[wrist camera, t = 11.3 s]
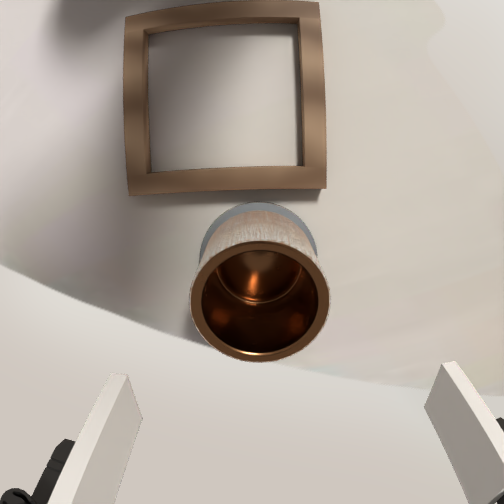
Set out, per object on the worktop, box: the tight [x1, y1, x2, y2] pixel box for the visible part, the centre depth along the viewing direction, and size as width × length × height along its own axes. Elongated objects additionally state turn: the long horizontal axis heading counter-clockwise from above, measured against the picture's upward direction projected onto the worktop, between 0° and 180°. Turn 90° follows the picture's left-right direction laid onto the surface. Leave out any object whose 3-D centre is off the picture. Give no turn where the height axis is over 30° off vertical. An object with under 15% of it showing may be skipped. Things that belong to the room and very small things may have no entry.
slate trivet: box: [200, 202, 317, 262], centre depth 33 cm, size 12×12×1 cm
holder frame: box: [123, 0, 327, 196], centre depth 27 cm, size 19×19×2 cm
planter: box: [189, 210, 331, 363], centre depth 28 cm, size 11×11×10 cm
